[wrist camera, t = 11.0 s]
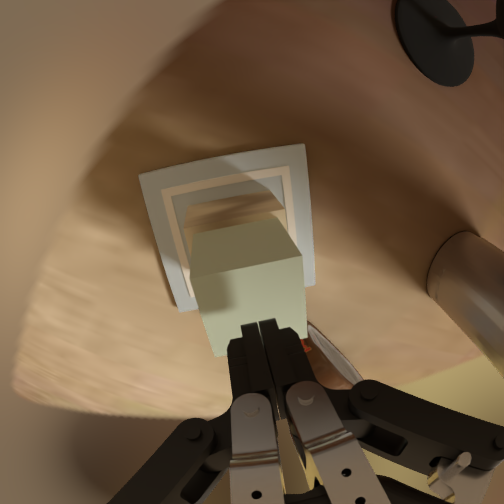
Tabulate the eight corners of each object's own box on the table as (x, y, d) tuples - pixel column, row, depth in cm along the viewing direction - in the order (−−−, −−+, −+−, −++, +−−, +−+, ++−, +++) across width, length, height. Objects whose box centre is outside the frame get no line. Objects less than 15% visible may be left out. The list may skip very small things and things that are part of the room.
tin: (271, 319, 27) (293, 389, 20) (298, 299, 27) (328, 366, 19) (341, 380, 34) (365, 433, 26) (361, 366, 33) (389, 418, 26)
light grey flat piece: (302, 143, 21) (305, 144, 20) (313, 281, 26) (316, 285, 25) (139, 174, 20) (137, 175, 19) (179, 308, 25) (179, 313, 25)
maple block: (269, 189, 21) (285, 208, 17) (278, 261, 24) (293, 293, 20) (187, 205, 21) (183, 228, 17) (205, 276, 24) (206, 310, 20)
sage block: (277, 217, 17) (302, 255, 13) (285, 287, 20) (307, 337, 15) (193, 234, 17) (189, 278, 13) (211, 302, 19) (215, 357, 15)
